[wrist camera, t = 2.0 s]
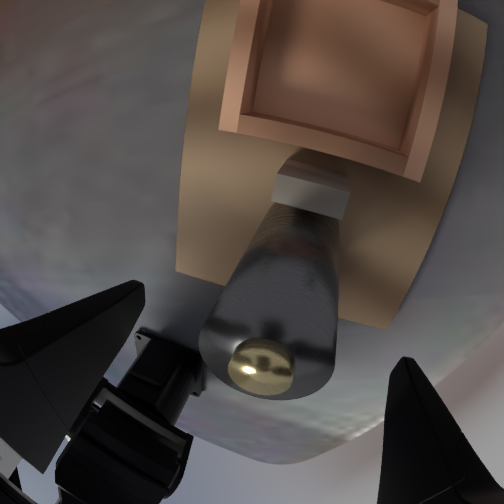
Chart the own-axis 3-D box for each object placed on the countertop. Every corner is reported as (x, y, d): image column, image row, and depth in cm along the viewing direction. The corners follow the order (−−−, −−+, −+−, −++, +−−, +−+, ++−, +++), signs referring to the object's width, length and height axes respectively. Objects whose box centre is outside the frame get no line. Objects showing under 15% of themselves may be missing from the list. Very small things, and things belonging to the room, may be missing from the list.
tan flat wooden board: (385, 319, 19) (390, 365, 15) (182, 263, 20) (153, 298, 17) (480, 27, 9) (515, 13, 5) (221, -35, 11) (190, -63, 7)
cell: (327, 271, 17) (307, 425, 9) (258, 252, 17) (189, 390, 9) (348, 205, 15) (357, 347, 7) (271, 185, 15) (192, 301, 7)
